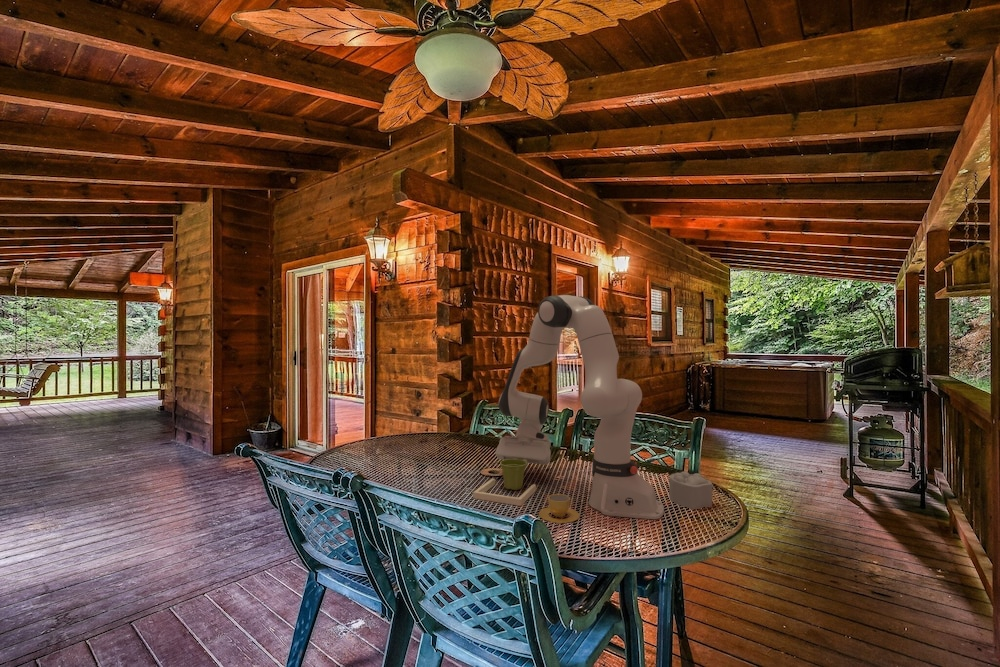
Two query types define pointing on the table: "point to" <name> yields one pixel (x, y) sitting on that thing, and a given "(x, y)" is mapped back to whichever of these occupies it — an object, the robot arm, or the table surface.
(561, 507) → the cup
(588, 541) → the table surface
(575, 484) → the table surface
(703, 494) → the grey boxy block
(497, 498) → the frame
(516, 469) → the plant pot
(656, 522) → the table surface
